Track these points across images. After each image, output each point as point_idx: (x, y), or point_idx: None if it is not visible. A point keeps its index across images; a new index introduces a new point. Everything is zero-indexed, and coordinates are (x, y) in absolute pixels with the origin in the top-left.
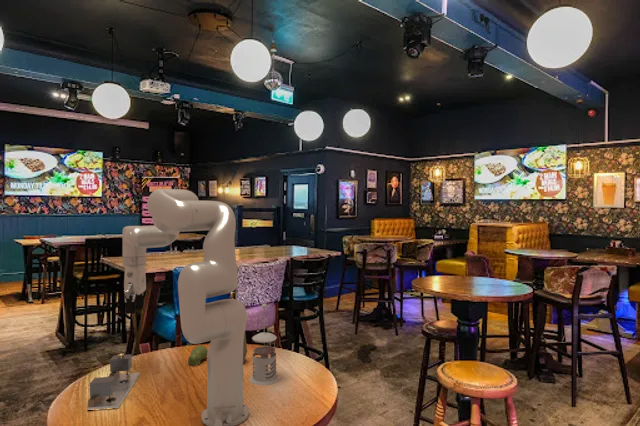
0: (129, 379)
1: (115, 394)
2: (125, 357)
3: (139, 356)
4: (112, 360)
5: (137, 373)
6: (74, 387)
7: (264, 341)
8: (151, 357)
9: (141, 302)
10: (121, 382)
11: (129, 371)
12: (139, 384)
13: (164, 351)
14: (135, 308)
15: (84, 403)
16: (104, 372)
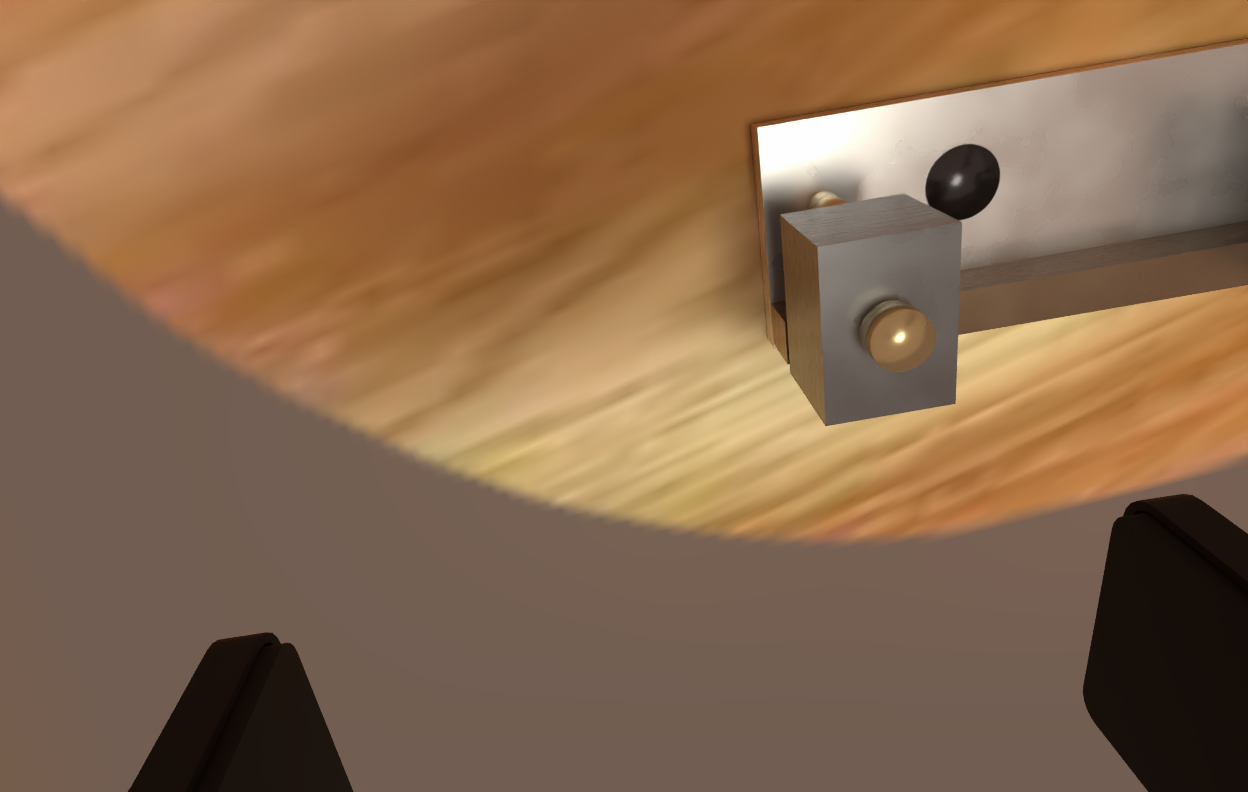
0: (922, 151)
1: (1229, 131)
2: (915, 273)
3: (241, 341)
4: (952, 378)
5: (783, 135)
6: (922, 518)
7: None
8: (247, 203)
9: (248, 775)
10: (984, 194)
11: (844, 200)
12: (971, 27)
13: (19, 124)
14: (1243, 584)
15: (1226, 318)
16: (654, 459)
